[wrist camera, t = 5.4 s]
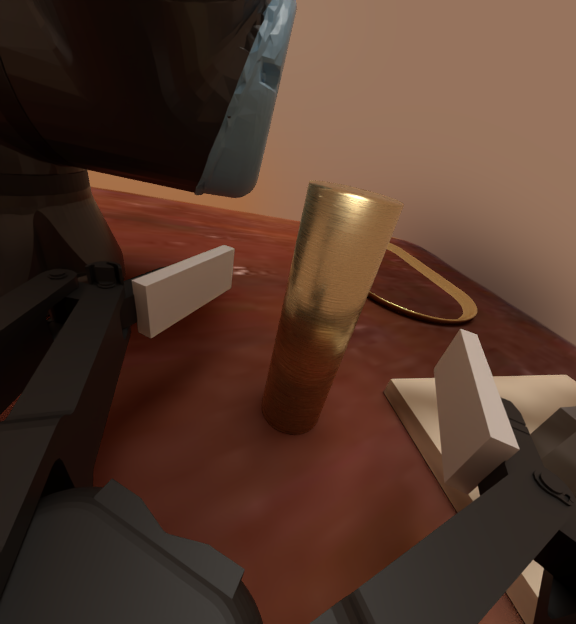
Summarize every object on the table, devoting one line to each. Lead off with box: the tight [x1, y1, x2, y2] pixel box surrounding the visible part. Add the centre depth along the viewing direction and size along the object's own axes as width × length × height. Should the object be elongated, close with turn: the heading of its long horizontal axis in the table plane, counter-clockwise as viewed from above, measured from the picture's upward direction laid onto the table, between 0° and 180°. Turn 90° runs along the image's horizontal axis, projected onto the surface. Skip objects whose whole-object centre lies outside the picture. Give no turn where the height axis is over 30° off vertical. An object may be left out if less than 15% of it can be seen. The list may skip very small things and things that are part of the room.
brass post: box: [262, 181, 404, 434], centre depth 15 cm, size 4×4×14 cm
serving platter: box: [368, 243, 477, 324], centre depth 47 cm, size 19×35×2 cm, turn 10°
